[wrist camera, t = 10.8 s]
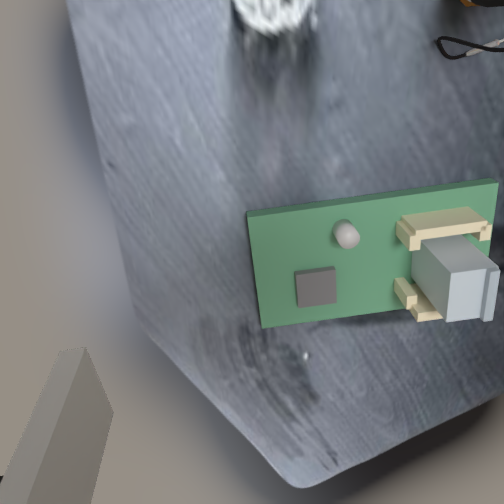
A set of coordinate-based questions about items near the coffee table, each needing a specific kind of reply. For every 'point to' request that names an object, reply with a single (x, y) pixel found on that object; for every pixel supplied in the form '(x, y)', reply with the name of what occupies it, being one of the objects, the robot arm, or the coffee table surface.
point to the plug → (456, 278)
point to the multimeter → (470, 0)
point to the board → (359, 250)
